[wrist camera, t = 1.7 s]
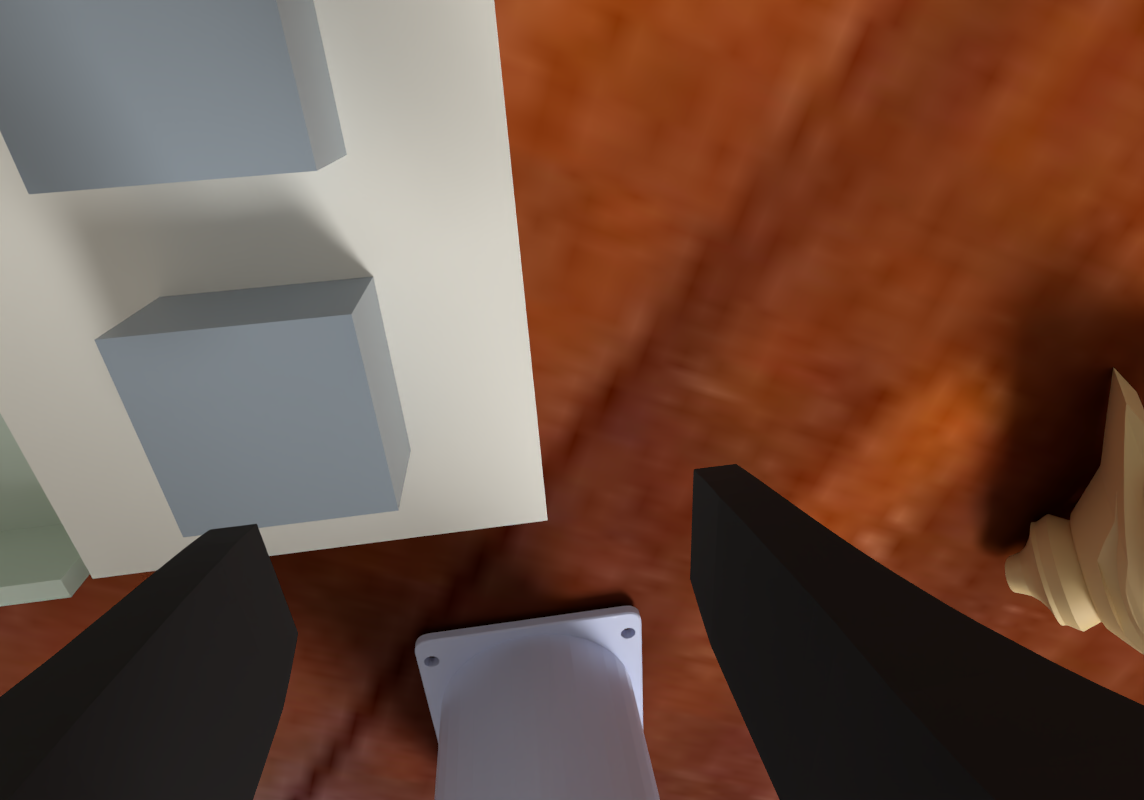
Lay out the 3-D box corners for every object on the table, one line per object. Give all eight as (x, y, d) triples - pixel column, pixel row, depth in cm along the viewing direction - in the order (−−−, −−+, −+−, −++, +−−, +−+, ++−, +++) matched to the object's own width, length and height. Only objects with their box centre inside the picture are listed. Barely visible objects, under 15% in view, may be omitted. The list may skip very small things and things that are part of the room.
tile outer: (346, 154, 12) (317, 170, 10) (112, 173, 12) (28, 194, 10) (284, -132, 10) (230, -190, 8) (-1, -119, 10) (-138, -176, 8)
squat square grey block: (410, 450, 16) (398, 510, 14) (226, 472, 15) (183, 537, 13) (373, 276, 14) (351, 314, 11) (159, 297, 13) (94, 339, 11)
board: (540, 470, 19) (547, 520, 17) (139, 519, 19) (92, 578, 16) (468, -217, 12) (464, -283, 10) (-206, -194, 11) (-377, -261, 9)
